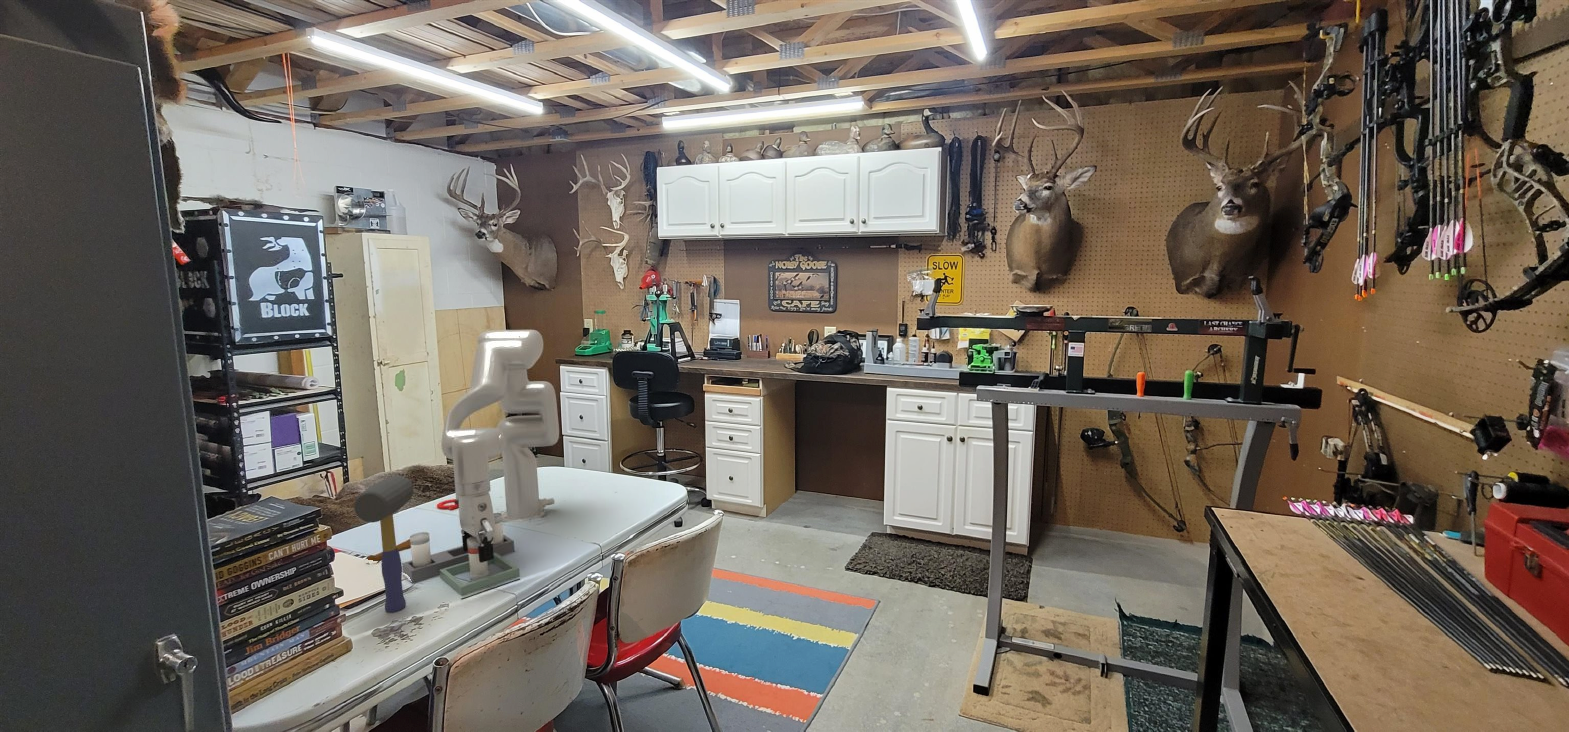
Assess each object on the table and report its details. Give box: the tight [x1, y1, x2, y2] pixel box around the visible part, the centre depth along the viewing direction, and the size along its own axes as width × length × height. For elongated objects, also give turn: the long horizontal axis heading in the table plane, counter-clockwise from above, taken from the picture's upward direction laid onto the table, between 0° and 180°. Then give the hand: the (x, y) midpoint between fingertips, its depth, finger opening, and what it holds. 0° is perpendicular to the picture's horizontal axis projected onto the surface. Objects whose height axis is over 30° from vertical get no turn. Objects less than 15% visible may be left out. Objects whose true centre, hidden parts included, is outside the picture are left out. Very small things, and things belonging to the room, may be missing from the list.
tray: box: [439, 553, 521, 601], centre depth 159 cm, size 14×14×3 cm
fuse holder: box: [401, 533, 515, 584], centre depth 168 cm, size 25×7×4 cm, turn 136°
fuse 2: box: [493, 512, 504, 545], centre depth 173 cm, size 4×4×10 cm
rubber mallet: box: [353, 475, 415, 613], centre depth 143 cm, size 12×8×30 cm, turn 5°
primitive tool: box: [365, 538, 411, 562], centre depth 177 cm, size 19×6×4 cm, turn 174°
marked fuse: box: [467, 536, 490, 582], centre depth 159 cm, size 4×4×10 cm
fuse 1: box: [409, 531, 432, 569], centre depth 161 cm, size 4×4×10 cm
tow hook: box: [436, 476, 459, 511], centre depth 214 cm, size 8×13×9 cm
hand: (478, 554), depth 159 cm, fingers open, 9 cm apart
